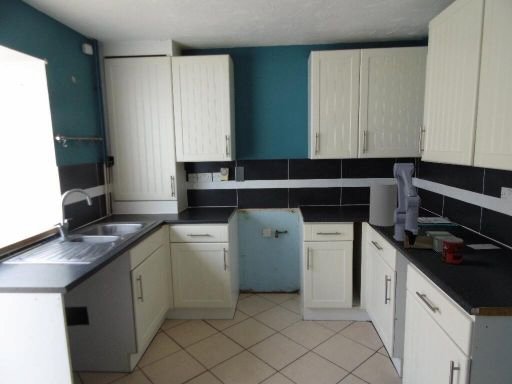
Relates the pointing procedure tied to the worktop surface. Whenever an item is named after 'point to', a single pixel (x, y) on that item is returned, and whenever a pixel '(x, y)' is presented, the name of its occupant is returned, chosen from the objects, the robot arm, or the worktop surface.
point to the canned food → (452, 250)
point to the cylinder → (383, 203)
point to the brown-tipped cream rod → (419, 242)
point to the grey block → (438, 239)
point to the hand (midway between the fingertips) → (410, 244)
